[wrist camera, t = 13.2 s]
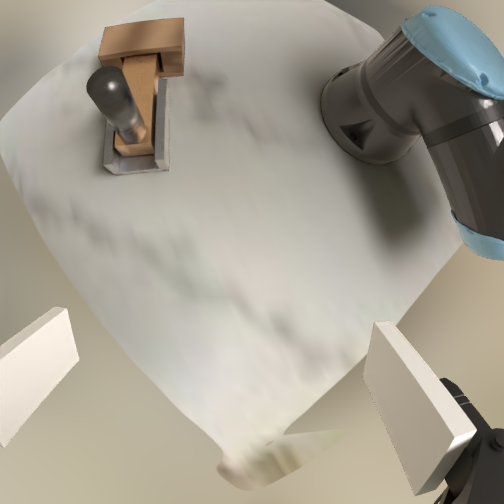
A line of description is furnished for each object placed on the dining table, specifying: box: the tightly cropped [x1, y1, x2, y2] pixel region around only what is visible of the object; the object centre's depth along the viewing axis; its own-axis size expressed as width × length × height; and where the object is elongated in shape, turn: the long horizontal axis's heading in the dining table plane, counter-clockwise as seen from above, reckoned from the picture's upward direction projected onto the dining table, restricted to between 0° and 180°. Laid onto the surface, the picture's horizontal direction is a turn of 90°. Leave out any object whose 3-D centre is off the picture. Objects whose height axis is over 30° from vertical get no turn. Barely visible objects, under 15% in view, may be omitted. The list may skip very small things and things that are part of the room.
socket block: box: [98, 18, 185, 77], centre depth 30 cm, size 10×5×7 cm, turn 93°
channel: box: [103, 79, 170, 175], centre depth 31 cm, size 7×10×5 cm
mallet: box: [87, 52, 161, 157], centre depth 24 cm, size 4×15×15 cm, turn 3°
